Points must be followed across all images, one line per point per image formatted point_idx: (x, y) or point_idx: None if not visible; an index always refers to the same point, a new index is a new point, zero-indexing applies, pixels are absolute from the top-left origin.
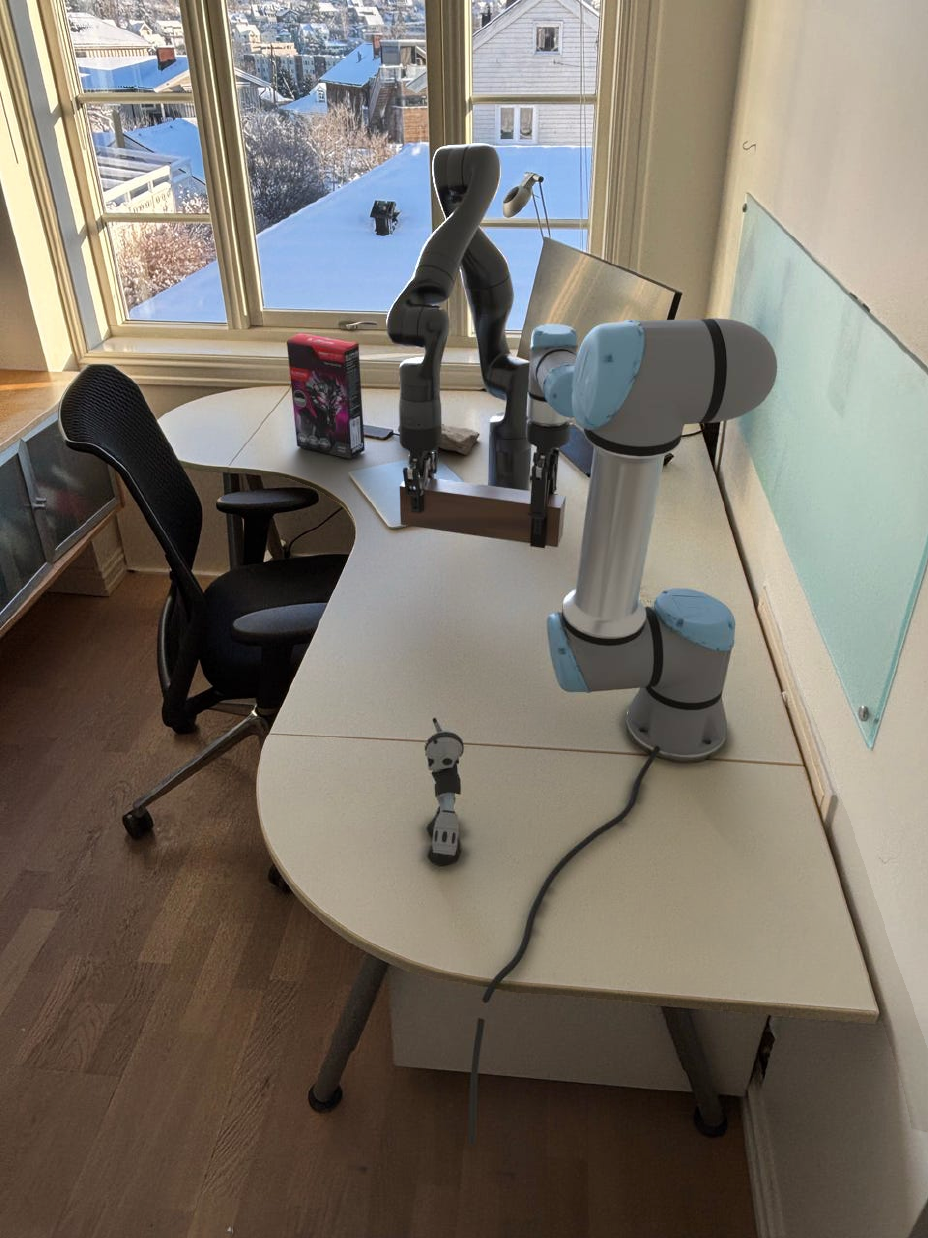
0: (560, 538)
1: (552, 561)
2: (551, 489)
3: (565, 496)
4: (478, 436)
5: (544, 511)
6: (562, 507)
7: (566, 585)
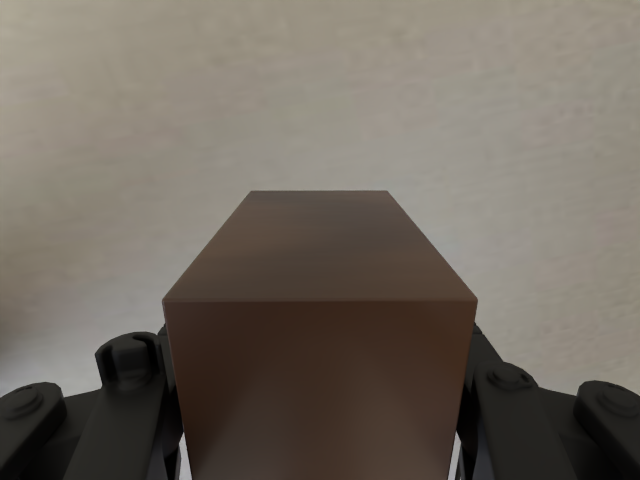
0: (315, 193)
1: (141, 197)
2: (153, 470)
3: (177, 299)
4: None
5: (626, 430)
6: (346, 274)
7: (256, 132)
